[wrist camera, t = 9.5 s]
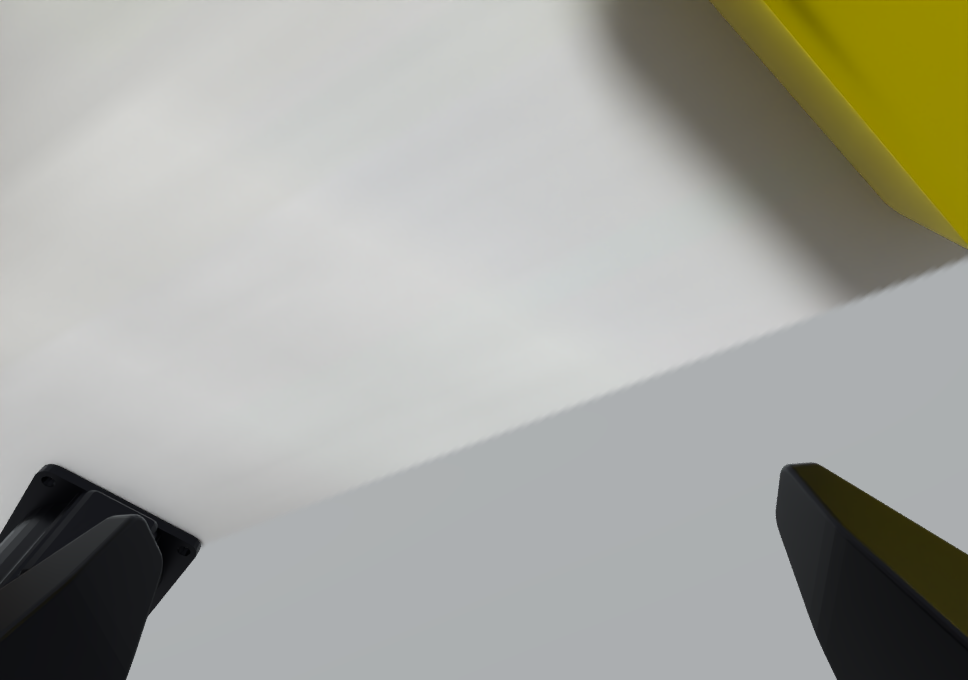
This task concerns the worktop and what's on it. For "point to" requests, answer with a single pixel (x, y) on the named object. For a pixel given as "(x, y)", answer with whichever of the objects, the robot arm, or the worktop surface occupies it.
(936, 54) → the element tile
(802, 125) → the worktop surface
